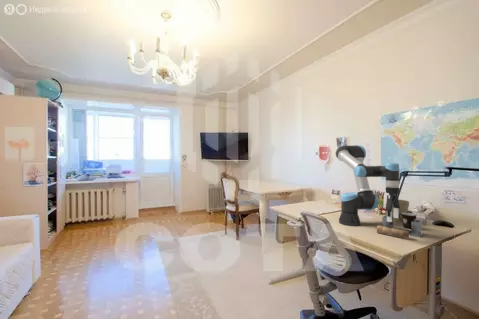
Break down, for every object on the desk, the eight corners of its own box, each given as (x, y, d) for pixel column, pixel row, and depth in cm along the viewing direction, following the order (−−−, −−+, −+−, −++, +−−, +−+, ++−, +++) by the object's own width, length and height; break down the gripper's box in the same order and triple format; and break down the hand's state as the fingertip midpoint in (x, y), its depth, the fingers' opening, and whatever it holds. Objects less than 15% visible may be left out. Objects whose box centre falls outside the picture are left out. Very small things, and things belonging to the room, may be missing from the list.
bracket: (381, 229, 164) (381, 216, 164) (385, 227, 170) (385, 214, 170) (420, 237, 148) (420, 223, 148) (423, 234, 153) (423, 220, 153)
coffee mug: (419, 230, 162) (419, 215, 162) (405, 229, 164) (405, 215, 164) (410, 225, 174) (410, 211, 173) (397, 224, 175) (397, 211, 175)
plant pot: (403, 224, 176) (403, 203, 176) (382, 219, 189) (382, 200, 189) (413, 221, 183) (413, 201, 183) (393, 217, 196) (393, 198, 196)
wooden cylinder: (376, 233, 156) (376, 226, 156) (379, 231, 160) (379, 224, 160) (407, 240, 144) (406, 232, 144) (409, 238, 147) (409, 230, 147)
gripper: (393, 189, 140) (393, 224, 140) (404, 185, 157) (405, 217, 157) (379, 188, 146) (379, 222, 146) (391, 185, 162) (392, 215, 162)
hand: (392, 219), depth 151 cm, fingers open, 13 cm apart
